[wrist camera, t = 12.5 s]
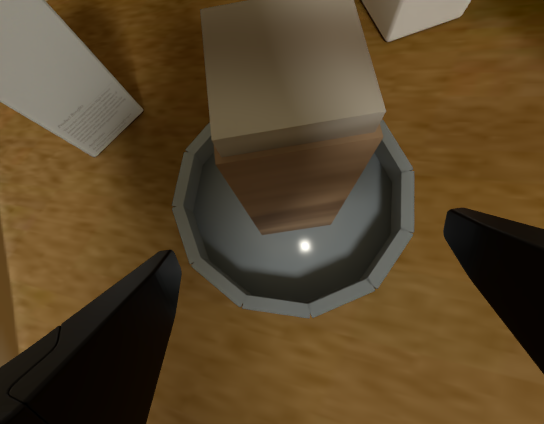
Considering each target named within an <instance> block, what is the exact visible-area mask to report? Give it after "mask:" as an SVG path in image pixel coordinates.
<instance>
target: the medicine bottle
mask: <svg viewBox="0 0 544 424" xmlns="http://www.w3.org/2000/svg"><path fill="white" fill-rule="evenodd" d="M470 1H471V0H362V2H363V4H364V6H365V7H366V9H367V11H368V12H369V14H370V16H371V17H372V19H373V21H374V22H375V24H376V26H377V27H378V29H379V31H380V33H381V34H382V36H383V38H384V39H385V41H387V42H390V41H393V40H396V39H399V38H402V37H404V36H407V35H410V34H413V33H416V32H419V31H422V30H424V29H427V28H430V27H433V26H436V25H439V24H442V23H445V22H447V21H450V20H453V19H456V18H459V17H460V16H461V15H462V14H463V13H464V11H465V9H466V8H467V6H468V4H469V3H470Z"/></svg>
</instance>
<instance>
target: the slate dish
mask: <svg viewBox="0 0 544 424" xmlns="http://www.w3.org/2000/svg"><path fill="white" fill-rule="evenodd" d="M380 126H381V130H382V133H383V139H382V140H381V142H380V144H379V145H378V147H377V149H376V150H375V152H374V154H373V155H372V157H371V159H370V160H369V162H368V164H367V165H366V167H365V169H364V170H363V172H362V174H361V175H360V177H359V179H358V180H357V182H356V184H355V185H354V187H353V189H352V190H351V192H350V194H349V195H348V197H347V199H346V200H345V202H344V204H343V205H342V207H341V209H340V210H339V212H338V214H337V215H336V217H335V219H334V220H333V222H332V224H331V225H326V226H319V227H313V228H306V229H300V230H293V231H286V232H280V233H273V234H267V235H262V234H261V233H260V231H259V230H258V228H257V227H256V225H255V224H254V222H253V221H252V219H251V218H250V216H249V215H248V213H247V212H246V210H245V209H244V207H243V206H242V204H241V203H240V201H239V200H238V198H237V197H236V195H235V194H234V192H233V190H232V189H231V187H230V186H229V184H228V183H227V181H226V180H225V178H224V177H223V175H222V174H221V172H220V171H219V169H218V168H217V166H216V165H215V154H214V144H213V142H212V139H211V128H210V122H209V123H208V125H207V126H206V127H205V128H204V129H203V130H202V131H201V133H200V134H199V135H198V136H197V137H196V138H195V139H194V140H193V142H192V143H191V144H190V145H189V146H188V147H187V148H186V149H185V150H186V151H187V152H184V155H183V159H182V163H181V168H180V172H179V176H178V181H177V185H176V189H175V193H174V198H173V202H172V206H173V208H172V211H173V214H174V217H175V220H176V223H177V226H178V229H179V232H180V235H181V239H182V242H183V245H184V248H185V251H186V254H187V257H188V260H189V263H190V264H192V267H193V268H194V269H195V270H196V271H197V272H199V273H200V274H201V275H202V276H203V277H205V278H206V279H207V280H208V281H209V282H210V283H212V284H213V285H214V286H215V287H216V288H217V289H219V290H220V291H221V292H222V293H223V294H225V295H226V296H227V297H228V298H229V299H230V300H232V301H233V302H234V303H235V304H236V305H238V306H239V307H242V306H243V307H242V309H249V310H256V311H263V312H270V313H276V314H283V315H290V316H297V317H303V318H310V314H311V316H312V318H314V317H316V316H318V315H321V314H323V313H325V312H327V311H330V310H332V309H334V308H337V307H339V306H341V305H344V304H346V303H348V302H350V301H353V300H355V299H357V298H360V297H362V296H364V295H366V294H369V293H371V292H373V291H375V289H378V287H379V286H380V284H381V283H382V281H383V280H384V278H385V277H386V275H387V274H388V272H389V271H390V269H391V268H392V266H393V265H394V263H395V262H396V260H397V259H398V257H399V256H400V254H401V253H402V251H403V249H404V248H405V246H406V245H407V243H408V242H409V240H410V239H411V237H412V236H413V234H412V233H413V232H414V171H412V170H413V167H412V166H411V164H410V163H409V161H408V159H407V158H406V156H405V154H404V153H403V151H402V150H401V148H400V146H399V145H398V143H397V142H396V140H395V138H394V137H393V135H392V133H391V132H390V130H389V129H388V127H387V125H386V124H385V122H384V121H383V120H382V121H381V122H380Z"/></svg>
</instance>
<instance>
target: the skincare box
mask: <svg viewBox="0 0 544 424" xmlns="http://www.w3.org/2000/svg"><path fill="white" fill-rule="evenodd" d="M0 102H2V103H3V104H5V105H7V106H8V107H10V108H12V109H13V110H15V111H17V112H19V113H20V114H22V115H24V116H25V117H27V118H29V119H30V120H32V121H34V122H35V123H37V124H39V125H40V126H42V127H44V128H45V129H47V130H49V131H50V132H52V133H54V134H56V135H57V136H59V137H61V138H62V139H64V140H66V141H67V142H69V143H71V144H72V145H74V146H76V147H77V148H79V149H81V150H82V151H84V152H86V153H87V154H89V155H91V156H92V157H96V156H97V155H98V154H99V153H100V152H101V151H102V150H103V149H105V148H106V147H107V146H108V145H109V144H110V143H111V142H112V141H113V140H114V139H115V138H116V137H117V136H118V135H119V134H120V133H121V132H122V131H123V130H124V129H125V128H126V127H127V126H128V125H129V124H130V123H131V122H132V121H133V120H134V119H135V118H136V117H137V116H139V115H140V114H141V113H142V112H143V108H142V107H141V106H140V105H139V104H138V103H137V102H136V101H135V100H134V99H133V98H132V96H131V95H130V94H129V93H128V92H127V91H126V90H125V89H124V87H123V86H122V85H121V84H120V83H119V82H118V81H117V80H116V79H115V77H114V76H113V75H112V74H111V73H110V72H109V71H108V70H107V68H106V67H105V66H104V65H103V64H102V63H101V62H100V61H99V60H98V58H97V57H96V56H95V55H94V54H93V53H92V52H91V51H90V50H89V48H88V47H87V46H86V45H85V44H84V43H83V42H82V41H81V40H80V38H79V37H78V36H77V35H76V34H75V33H74V32H73V31H72V30H71V28H70V27H69V26H68V25H67V24H66V23H65V22H64V21H63V20H62V19H61V17H60V16H59V15H58V14H57V13H56V12H55V11H54V10H53V9H52V8H51V7H50V6H49V4H48V3H47V2H46V1H45V0H0Z"/></svg>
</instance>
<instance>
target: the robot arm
mask: <svg viewBox="0 0 544 424" xmlns="http://www.w3.org/2000/svg"><path fill="white" fill-rule="evenodd" d="M444 237H445V239H446V241H447V243H448V244H449V246H450V248H451V249H452V251H453V252H454V254H455V256H456V257H457V259H458V261H459V262H460V264H461V265H462V267H463V269H464V270H465V272H466V273H467V275H468V276H469V278H470V279H471V281H472V282H473V283H474V285H475V286H476V287H477V289H478V290H479V291H480V292H481V294H482V295H483V296H484V298H485V299H486V300H487V301H488V303H489V304H490V305H491V307H492V308H493V309H494V311H495V312H496V313H497V314H498V316H499V317H500V318H501V320H502V321H503V322H504V323H505V325H506V326H507V327H508V329H509V330H510V331H511V332H512V334H513V335H514V336H515V338H516V339H517V340H518V342H519V343H520V344H521V345H522V347H523V348H524V349H525V351H526V352H527V353H528V354H529V356H530V357H531V358H532V360H533V361H534V362H535V364H536V365H537V366H538V367H539V369H540V370H541V371H542V373H543V374H544V229H541V228H537V227H534V226H530V225H526V224H523V223H519V222H515V221H511V220H508V219H504V218H500V217H497V216H493V215H489V214H485V213H482V212H478V211H474V210H470V209H467V208H456V209H450V210H449V211H448V212H447V215H446V220H445V226H444ZM180 282H181V268H180V265H179V263H178V260H177V258H176V255H175V253H174V252H173V251H172V250H164V251H159V252H158V253H156V254H155V255H154V256H152V257H151V258H150V259H148V260H147V261H146V262H144V263H143V264H142V265H140V266H139V267H138V268H136V269H135V270H134V271H132V272H131V273H129V274H128V275H127V276H125V277H124V278H123V279H121V280H120V281H119V282H117V283H116V284H115V285H113V286H112V287H111V288H109V289H108V290H107V291H105V292H104V293H102V294H101V295H100V296H98V297H97V298H96V299H94V300H93V301H92V302H90V303H89V304H88V305H86V306H85V307H84V308H82V309H81V310H80V311H78V312H77V313H75V314H74V315H73V316H71V317H70V318H69V319H67V320H66V321H65V322H63V323H62V324H61V326H58V327H56V328H55V329H54V330H52V331H51V332H50V333H48V334H47V335H46V336H44V337H43V338H42V339H40V340H39V341H37V342H36V343H35V344H33V345H32V346H30V347H29V348H28V349H26V350H25V351H24V352H22V353H21V354H19V355H18V356H16V357H15V358H13V359H12V360H10V361H9V362H8V363H6V364H5V365H3V366H2V367H0V424H146V422H147V418H148V414H149V411H150V407H151V403H152V400H153V396H154V392H155V389H156V385H157V381H158V378H159V374H160V370H161V367H162V363H163V359H164V356H165V352H166V348H167V345H168V341H169V337H170V334H171V330H172V326H173V322H174V318H175V314H176V308H177V301H178V295H179V288H180Z"/></svg>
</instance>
